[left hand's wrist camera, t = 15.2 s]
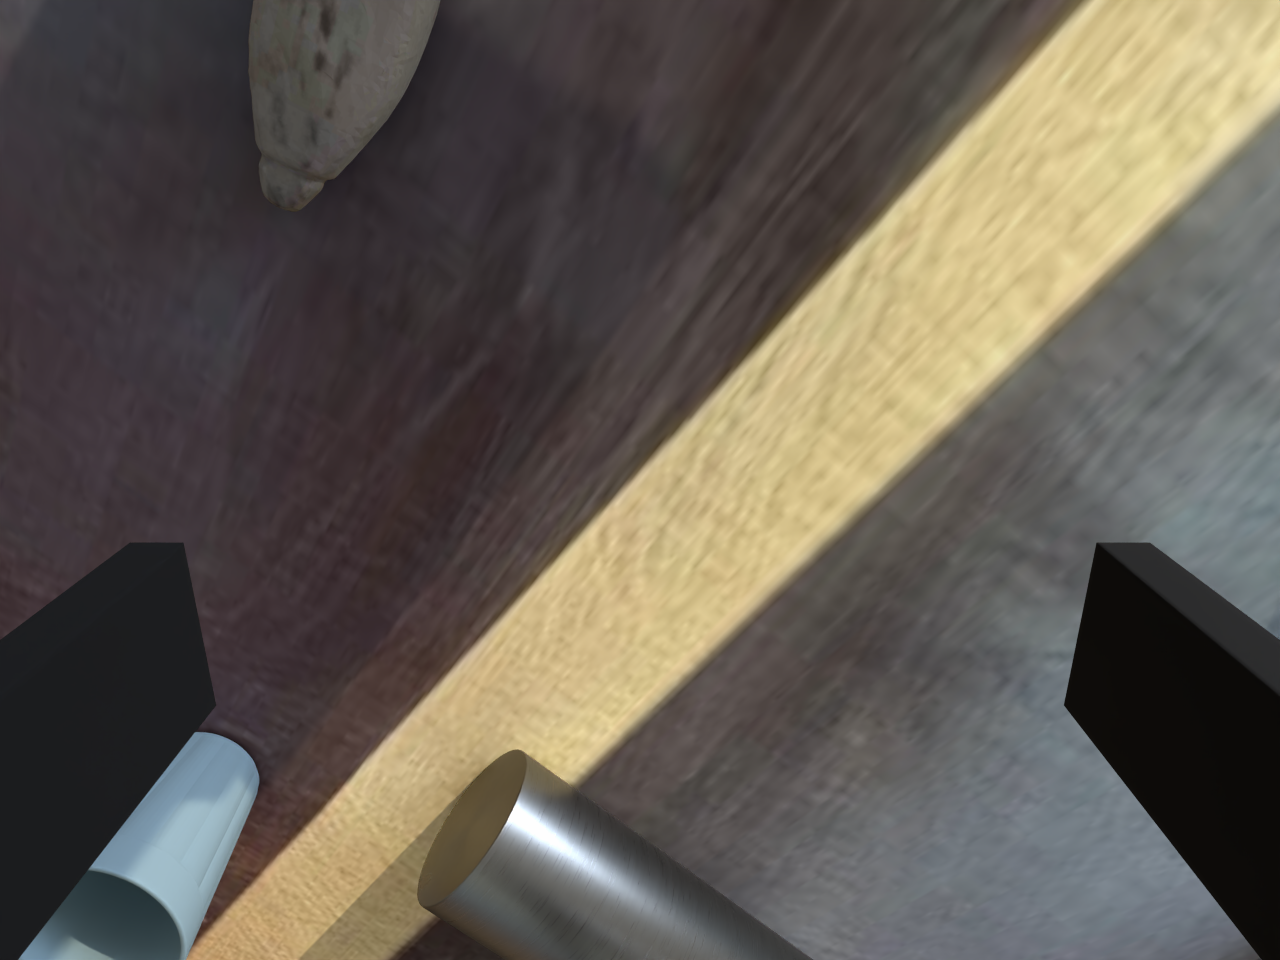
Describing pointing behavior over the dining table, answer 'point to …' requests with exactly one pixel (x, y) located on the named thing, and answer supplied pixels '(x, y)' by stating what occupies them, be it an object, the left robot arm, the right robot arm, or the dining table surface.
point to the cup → (158, 863)
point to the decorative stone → (327, 84)
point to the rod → (574, 880)
